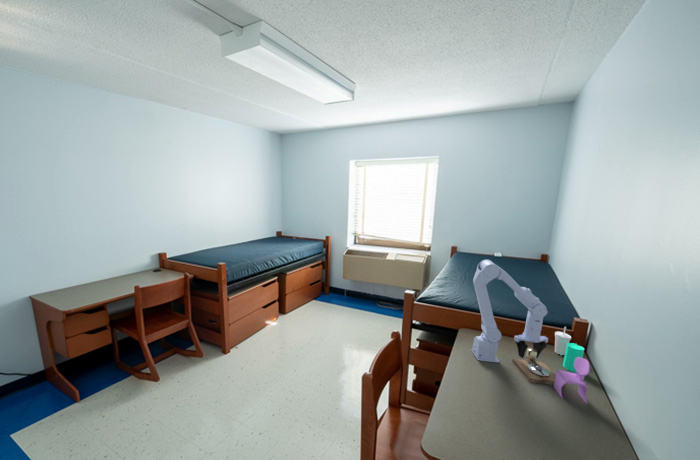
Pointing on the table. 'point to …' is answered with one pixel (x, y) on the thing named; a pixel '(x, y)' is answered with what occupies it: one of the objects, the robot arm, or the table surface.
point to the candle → (572, 356)
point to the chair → (574, 377)
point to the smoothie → (561, 342)
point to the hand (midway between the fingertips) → (527, 356)
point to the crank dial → (535, 364)
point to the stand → (532, 377)
